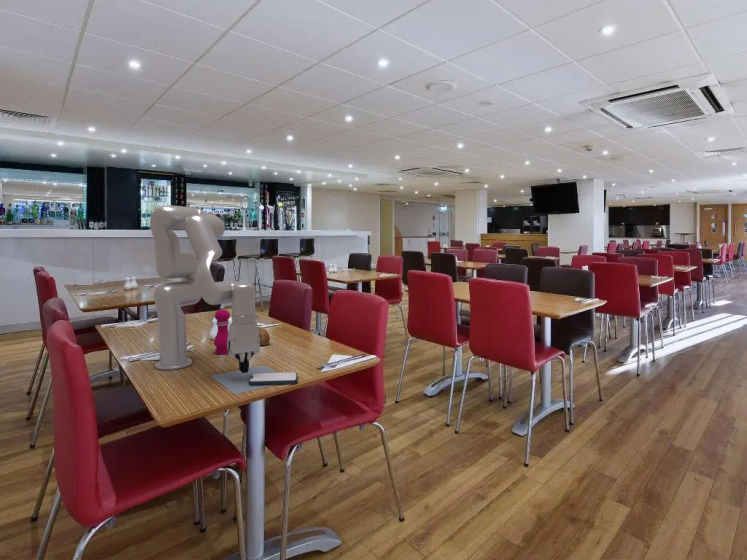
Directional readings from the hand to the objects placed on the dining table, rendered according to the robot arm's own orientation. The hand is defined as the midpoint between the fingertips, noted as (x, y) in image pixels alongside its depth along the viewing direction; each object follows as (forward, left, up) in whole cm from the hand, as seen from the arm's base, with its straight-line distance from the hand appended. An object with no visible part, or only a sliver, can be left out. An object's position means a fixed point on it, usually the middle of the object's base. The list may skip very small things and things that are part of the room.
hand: (244, 371), depth 145 cm
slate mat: (0, +2, -3) cm, 4 cm away
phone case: (+7, +7, -3) cm, 11 cm away
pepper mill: (-38, +6, -3) cm, 38 cm away
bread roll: (-44, +23, -3) cm, 50 cm away
